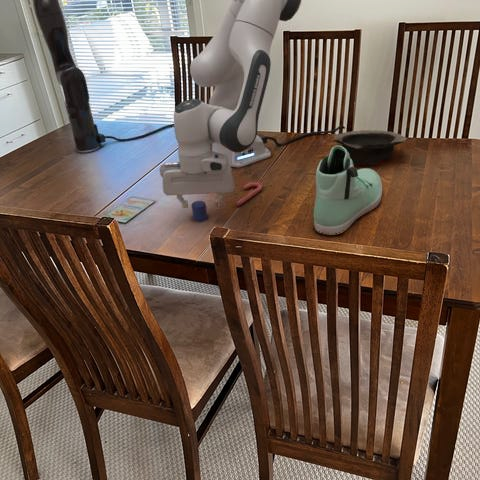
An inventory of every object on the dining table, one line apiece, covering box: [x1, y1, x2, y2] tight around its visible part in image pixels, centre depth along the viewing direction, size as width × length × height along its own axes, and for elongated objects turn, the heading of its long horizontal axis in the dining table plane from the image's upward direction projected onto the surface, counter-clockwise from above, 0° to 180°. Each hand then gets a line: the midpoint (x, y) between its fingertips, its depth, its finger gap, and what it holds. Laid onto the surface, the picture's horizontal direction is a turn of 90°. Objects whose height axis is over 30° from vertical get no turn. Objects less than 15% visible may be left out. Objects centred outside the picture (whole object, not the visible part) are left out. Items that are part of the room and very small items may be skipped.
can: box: [191, 200, 208, 222], centre depth 139 cm, size 4×4×5 cm
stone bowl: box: [332, 130, 407, 166], centre depth 168 cm, size 25×25×9 cm
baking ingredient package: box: [104, 197, 155, 223], centre depth 147 cm, size 9×1×15 cm
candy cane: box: [235, 181, 263, 207], centre depth 150 cm, size 6×15×2 cm, turn 145°
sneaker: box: [313, 145, 383, 236], centre depth 133 cm, size 14×35×20 cm, turn 152°
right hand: (201, 206), depth 138 cm, fingers open, 8 cm apart
